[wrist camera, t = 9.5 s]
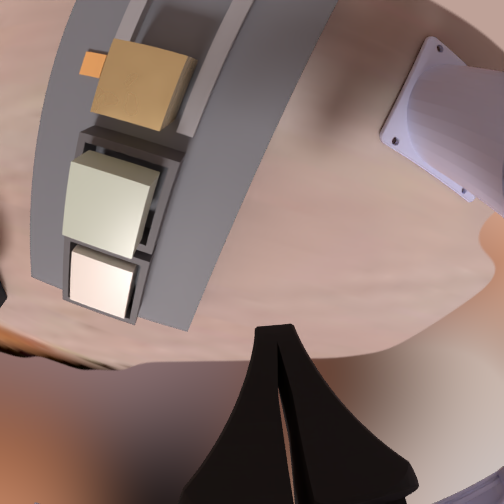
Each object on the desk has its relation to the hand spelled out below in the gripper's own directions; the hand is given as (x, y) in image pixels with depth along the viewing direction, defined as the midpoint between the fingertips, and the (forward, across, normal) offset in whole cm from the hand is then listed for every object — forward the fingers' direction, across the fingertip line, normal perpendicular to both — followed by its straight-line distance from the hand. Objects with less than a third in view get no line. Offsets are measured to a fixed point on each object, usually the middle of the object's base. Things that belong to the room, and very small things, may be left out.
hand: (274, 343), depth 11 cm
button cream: (+7, +9, +1) cm, 11 cm away
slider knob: (+7, +4, -9) cm, 12 cm away
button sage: (+5, +7, -4) cm, 10 cm away
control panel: (+9, +6, -7) cm, 13 cm away
